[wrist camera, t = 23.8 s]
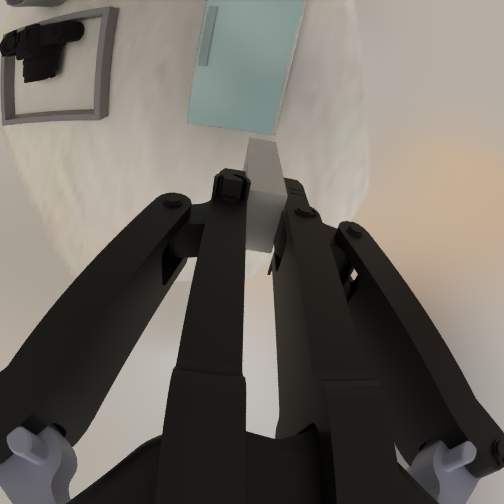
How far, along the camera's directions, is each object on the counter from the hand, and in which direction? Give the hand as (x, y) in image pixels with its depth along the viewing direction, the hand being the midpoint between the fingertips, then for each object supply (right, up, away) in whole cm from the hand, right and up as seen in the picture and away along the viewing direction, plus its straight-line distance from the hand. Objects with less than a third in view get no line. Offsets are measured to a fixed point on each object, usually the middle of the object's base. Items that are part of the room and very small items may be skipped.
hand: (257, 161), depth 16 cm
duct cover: (-1, +20, +11) cm, 23 cm away
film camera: (-33, +28, +12) cm, 45 cm away
